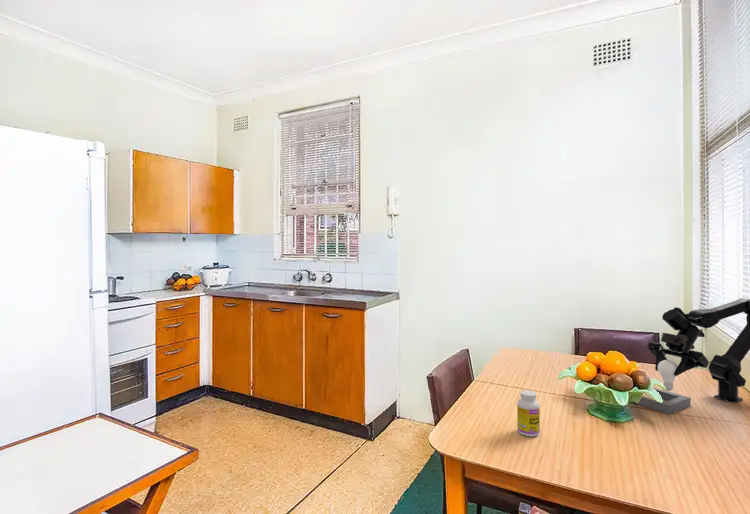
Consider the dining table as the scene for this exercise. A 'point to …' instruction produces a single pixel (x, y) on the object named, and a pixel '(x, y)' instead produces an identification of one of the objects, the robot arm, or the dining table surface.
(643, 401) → the socket block
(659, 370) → the lightbulb
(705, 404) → the dining table surface
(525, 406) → the supplement bottle
